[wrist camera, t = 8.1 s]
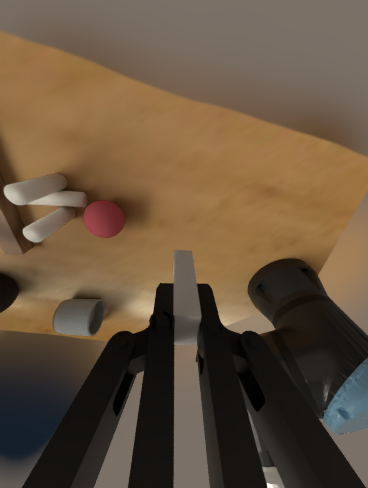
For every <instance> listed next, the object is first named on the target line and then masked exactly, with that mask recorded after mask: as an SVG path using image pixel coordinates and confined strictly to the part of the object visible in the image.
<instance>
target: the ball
mask: <svg viewBox="0 0 368 488" xmlns="http://www.w3.org/2000/svg"><path fill="white" fill-rule="evenodd" d="M83 220H84V224H85V226H86V228H87V229H88V231H89V232H91V233H92V234H93V235H95V236H97V237H101V238H110V237H113V236H115V235H117V234H118V233H120V231H121V230H122V229H123V227H124V223H125V217H124V214H123V212H122V210H121V209H120V207H119V206H118V205H116V204H115V203H113V202H111V201H107V200H99V201H95V202H93V203H91V204H90V205H89V206H88V207H87V208H86V210H85V212H84V216H83Z"/></svg>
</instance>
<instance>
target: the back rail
mask: <svg viewBox="0 0 368 488" xmlns="http://www.w3.org/2000/svg"><path fill="white" fill-rule="evenodd" d="M5 186H6V185H5V183H4V181H3V179H2V177H1V174H0V245H1V247H2V249H3V250H4V252H5V254H24V253H26V252H27V251H28V250H30V249H31V248H33V245H32V243H31V241H30V240H28V239H27V238H26V237H25V236H24V234H23V229H24V228H25V227H24V225H23V223H22V221H21V219H20V216H19V214H18V212H17V210H16V208H15V205H14V203H12V202H11V201H9V200H8V199H7V197H6V196H5V194H4V187H5Z"/></svg>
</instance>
